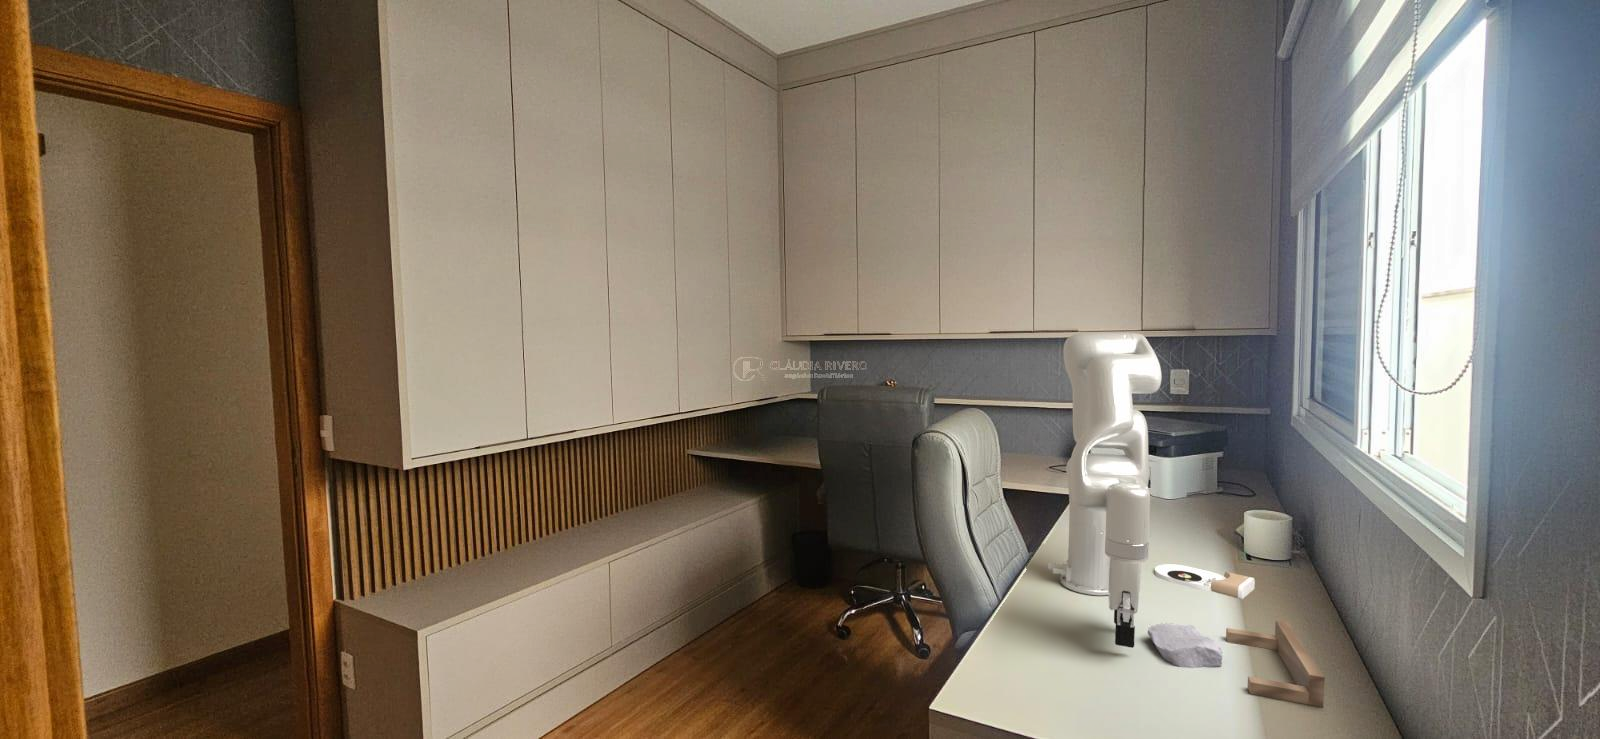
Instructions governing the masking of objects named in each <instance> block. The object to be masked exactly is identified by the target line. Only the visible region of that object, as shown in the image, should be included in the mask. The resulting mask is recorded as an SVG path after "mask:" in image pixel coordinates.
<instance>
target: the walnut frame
mask: <svg viewBox="0 0 1600 739" xmlns="http://www.w3.org/2000/svg"><path fill="white" fill-rule="evenodd" d="M1274 626H1275V627H1274V629H1275V630H1274V634H1268V633H1261V632H1254V631H1247V630H1242V629H1236V628H1229V627H1226V629H1225V630H1226V632H1225V639H1226V641H1227V643H1231V644H1238V645H1245V646H1249V647H1250V646H1251V647H1256V648H1262V649H1268V650H1276V651H1277V653H1278V655H1279V656H1280V659H1282V661H1283V663H1284V665H1285V666H1286V668H1287V671H1288V672H1289V673H1290V676H1291V677H1292V679H1293V680H1294V682H1295V684H1293V683H1287V682H1282V681H1276V680H1275V681H1274V680H1269V679H1265V678H1260V677H1254V676H1247V690H1248V692H1249V694H1251V695H1255V696H1261V697H1267V698H1272V699H1277V700H1281V701H1288V702H1294V703H1299V704H1305V705H1308V706H1315V707H1319V708H1320V707H1321V708H1324V701H1325V700H1324V699H1325V697H1324V696H1325V682H1326V681H1325V680H1326V677H1325V676H1324V674H1323V673H1322V671H1321V669H1320V668H1319V666H1318V665H1317V664H1316V662H1315V660H1314V659H1313V657H1312V656H1311V654H1310V653H1309V651H1308V650H1307V649H1306V646H1305V645H1304V644H1303V642H1302V641H1301V639H1300V638H1299V636H1298V634H1297V633H1296V632H1295V630H1294V629H1293V627H1292V625H1291V623H1289V621H1285V620H1284V621H1282V620H1275V624H1274Z"/></svg>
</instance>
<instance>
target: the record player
mask: <svg viewBox="0 0 1600 739" xmlns="http://www.w3.org/2000/svg"><path fill="white" fill-rule="evenodd" d="M1154 574H1155V576H1157V578H1159V579H1161V580H1163V581H1165V582H1169V583H1172V584H1176V585H1180V586H1182V587H1183V586H1184V587H1186V588H1187V587H1188V588H1190V589H1191V588H1192V589H1196V590H1200V591H1207V592H1213V593H1218V594H1220V595H1221V594H1222V595H1225V596H1228V597H1233V598H1236V599H1240V600H1243V599H1245V597H1247V596H1248V595H1249V594H1250V593H1252V592H1253V591H1254V590H1255V587H1256V586H1255V584H1256V580H1255V578H1254V577H1250V576H1246V575H1243V574H1242V575H1241V574H1237V573H1234V572H1230V571H1225V572H1224V575H1221V574H1219V573H1216V572H1213V571H1210V570H1204V569H1200V568H1196V567H1193V566H1192V567H1191V566H1188V565H1182V564H1172V563H1171V564H1170V563H1169V564H1168V563H1167V564H1159V565H1157V566H1155V567H1154Z"/></svg>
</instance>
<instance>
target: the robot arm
mask: <svg viewBox="0 0 1600 739" xmlns="http://www.w3.org/2000/svg"><path fill="white" fill-rule="evenodd" d="M1062 353H1063V362H1064V367H1065V369H1066V373H1067V376H1068V378H1069V381H1070V385H1071V389H1072V433H1073V438H1074V441H1075V446H1074V447H1073V449H1072V450H1073V451H1072V453H1071V457H1070V458H1069V459H1068V460H1067V464H1066V468H1065V469H1066V480H1067V486H1068V487H1067V488H1068V498H1069V501H1068V502H1069V506H1068V508H1069V511H1068V512H1069V514H1068V517H1069V518H1068V546H1067V547H1068V552H1067V555H1068V557H1067V560H1066V563H1065V562H1064V563H1063V562H1062V563H1056V562H1048V564H1047V570H1048V571H1052V574H1053V575H1061V576H1060V583H1061V585H1062V586H1064V587H1065V588H1067V589H1069V590H1071V591H1074V592H1076V593H1080V594H1083V595H1084V594H1085V595H1091V596H1108V608H1109V610H1111V611H1114V614H1113V623H1114V624H1115V632H1114V634H1115V635H1114V636H1115V637H1114V642H1115V645H1116V646H1121V647H1126V648H1134V647H1135V635H1136V634H1135V632H1136V627H1135V625H1134V623H1135V620H1134V619H1135V617H1134V616H1135V614H1137V613H1138V610H1139V609H1138V608H1139V602H1140V591H1141V573H1142V572H1141V571H1142V569H1141V568H1142V567H1141V566H1142V563H1144V562H1146V561H1148V560H1149V544H1150V543H1149V541H1150V520H1151V519H1150V517H1151V516H1150V514H1151V493H1150V491H1149V477H1150V476H1149V473H1150V472H1149V470H1150V469H1149V468H1150V465H1149V431H1148V429H1149V428H1148V424H1147V420H1146V418H1145V415H1144V414H1143V413H1142V412H1141V411H1140V410H1137V409H1135V408H1134V405H1133V396H1132V395H1133V394H1139V395H1140V394H1143V395H1144V394H1146V395H1149V394H1154V393H1156V392H1157V391H1158V390H1159V389H1160V387H1161V384H1162V377H1163V376H1162V369H1161V365H1160V361H1159V359H1158V356H1157V355H1156V352H1155V351H1154V349H1153V348H1152V346H1151V344H1150V342H1149V341H1148V339H1147V338H1146V337H1145V336H1144V335H1143V334H1140V333H1135V332H1134V333H1133V332H1082V333H1081V332H1080V333H1076V334H1072V335H1070V336H1068V338H1066V340H1065V341H1064V344H1063V352H1062ZM1092 448H1095V449H1117V450H1119V449H1120V450H1123V452H1124V454H1111V453H1110V454H1109V453H1091V452H1090V450H1091V449H1092Z"/></svg>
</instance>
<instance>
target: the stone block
mask: <svg viewBox="0 0 1600 739" xmlns="http://www.w3.org/2000/svg"><path fill="white" fill-rule="evenodd" d="M1150 626H1151V627H1148V628H1147V635H1148V636H1149V637H1150V639H1151V641H1152V642H1153V645H1154V646H1155V647H1156V649H1157V651H1158V652H1159V654H1160V655H1161V656H1162V659H1164V660H1166V661H1167V662H1169V663H1171V664H1173V666H1177V667H1179V668H1180V667H1181V668H1191V669H1195V668H1197V669H1198V668H1213V667H1215V668H1216V667H1217V668H1218V667H1219V668H1220V667H1221V666H1222V664H1223V661H1222V660H1223V651H1222V647H1221V646H1220V644H1218V642H1217V641H1215V640H1214V639H1212V638H1210V637H1209V636H1205V635H1202V634H1201V633H1200V632H1199V631H1198V630H1197V629H1196V627H1195V626H1194V625H1193V624H1188V625H1185V624H1178V623H1168V622H1166V623H1164V622H1162V623H1158V624H1154V625H1150Z"/></svg>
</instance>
